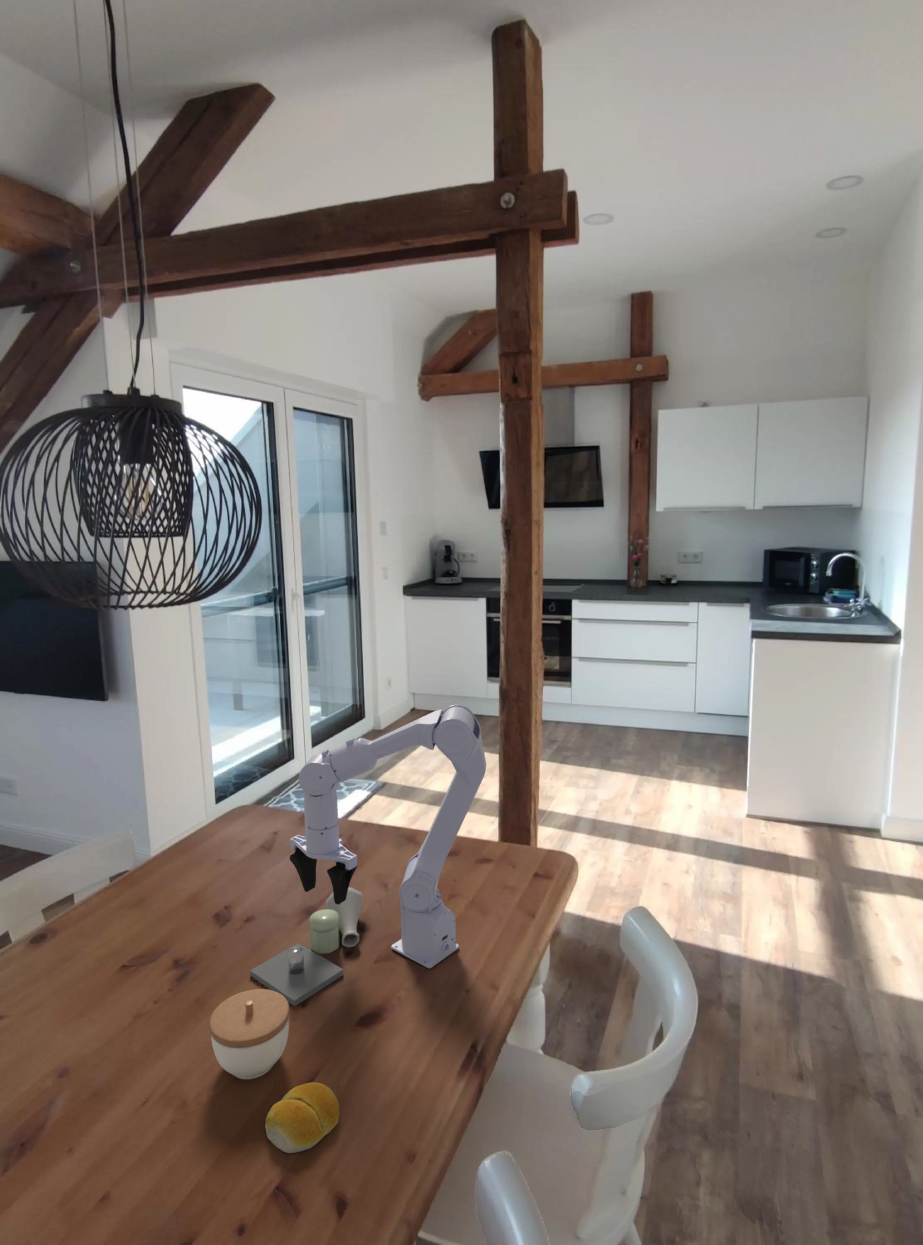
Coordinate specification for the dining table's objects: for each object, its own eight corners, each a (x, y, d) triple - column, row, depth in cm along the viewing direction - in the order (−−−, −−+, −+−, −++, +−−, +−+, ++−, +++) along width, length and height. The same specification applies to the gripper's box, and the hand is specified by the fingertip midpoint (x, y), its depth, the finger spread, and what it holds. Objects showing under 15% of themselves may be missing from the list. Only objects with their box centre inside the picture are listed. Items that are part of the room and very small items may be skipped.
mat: (343, 974, 121) (343, 969, 121) (294, 1006, 114) (294, 1000, 113) (298, 948, 129) (298, 942, 129) (250, 975, 121) (250, 970, 121)
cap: (345, 944, 130) (344, 915, 129) (323, 957, 126) (322, 928, 125) (327, 934, 133) (326, 906, 132) (305, 946, 129) (304, 918, 128)
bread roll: (351, 1115, 93) (350, 1088, 93) (298, 1167, 86) (297, 1137, 85) (307, 1086, 98) (306, 1060, 97) (254, 1132, 91) (252, 1104, 90)
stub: (307, 969, 121) (306, 950, 121) (295, 976, 119) (294, 957, 119) (297, 963, 123) (296, 944, 122) (285, 970, 121) (284, 951, 120)
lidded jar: (307, 1052, 104) (304, 993, 103) (251, 1105, 95) (247, 1040, 93) (254, 1026, 109) (250, 969, 108) (196, 1073, 100) (191, 1012, 99)
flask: (368, 888, 138) (376, 926, 129) (356, 919, 139) (363, 958, 130) (331, 883, 135) (337, 921, 126) (320, 915, 137) (324, 955, 128)
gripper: (368, 824, 126) (370, 897, 128) (309, 806, 134) (312, 874, 136) (339, 840, 120) (342, 915, 122) (279, 819, 128) (283, 891, 130)
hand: (324, 895), depth 128 cm, fingers open, 7 cm apart
